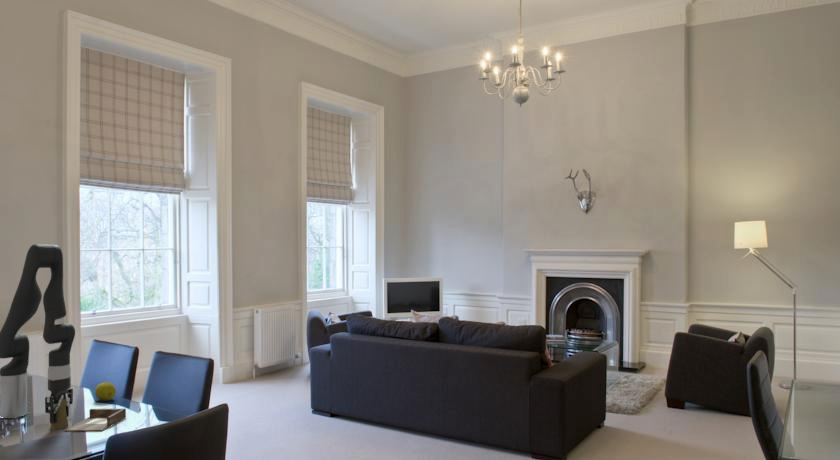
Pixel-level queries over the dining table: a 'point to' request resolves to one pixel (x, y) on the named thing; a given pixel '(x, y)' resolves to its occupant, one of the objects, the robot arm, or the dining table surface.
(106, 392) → the lemon
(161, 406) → the dining table surface
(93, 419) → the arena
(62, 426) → the olive double-lobed piece
